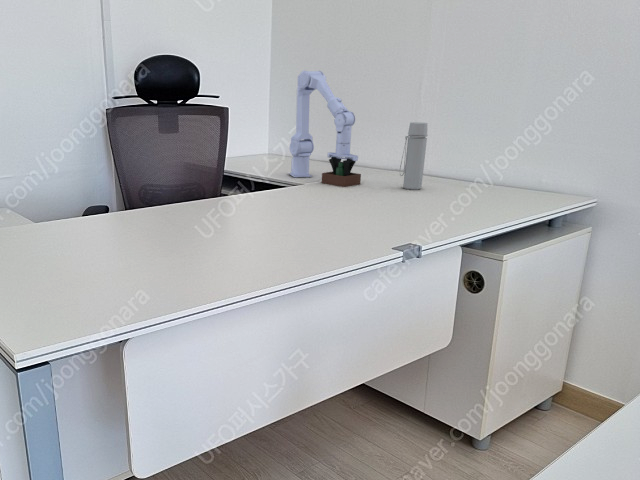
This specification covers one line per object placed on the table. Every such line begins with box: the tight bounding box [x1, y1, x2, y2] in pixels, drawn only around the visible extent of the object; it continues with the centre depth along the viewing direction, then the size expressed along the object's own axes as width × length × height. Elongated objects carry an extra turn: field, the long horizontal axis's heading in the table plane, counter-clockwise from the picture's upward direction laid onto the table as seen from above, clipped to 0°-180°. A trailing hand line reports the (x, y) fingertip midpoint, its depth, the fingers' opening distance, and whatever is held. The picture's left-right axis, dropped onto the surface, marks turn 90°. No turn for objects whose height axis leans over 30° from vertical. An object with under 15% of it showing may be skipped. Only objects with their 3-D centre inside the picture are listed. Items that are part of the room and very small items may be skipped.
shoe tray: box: [321, 171, 362, 188], centre depth 245 cm, size 12×10×4 cm
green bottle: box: [336, 161, 344, 176], centre depth 244 cm, size 5×5×8 cm
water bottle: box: [399, 121, 429, 191], centre depth 230 cm, size 9×8×25 cm
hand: (341, 176), depth 245 cm, fingers open, 5 cm apart
